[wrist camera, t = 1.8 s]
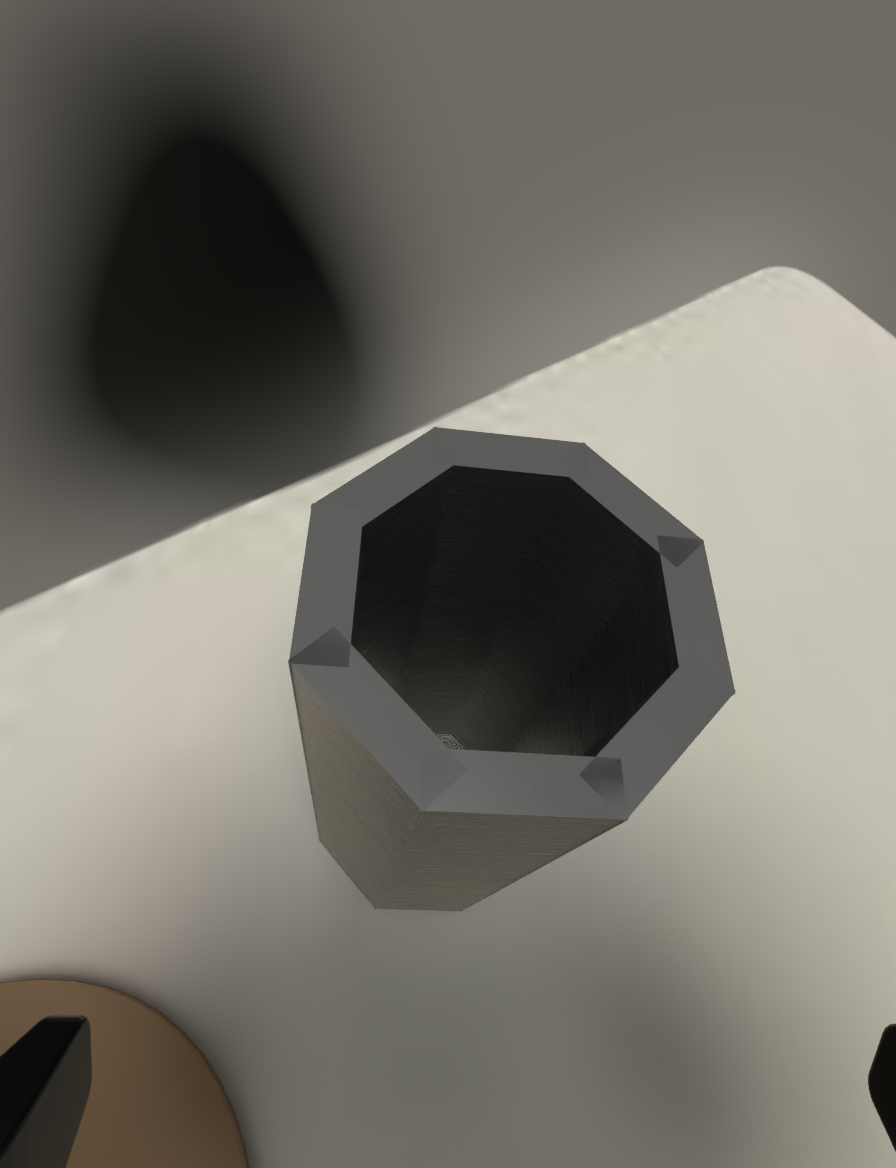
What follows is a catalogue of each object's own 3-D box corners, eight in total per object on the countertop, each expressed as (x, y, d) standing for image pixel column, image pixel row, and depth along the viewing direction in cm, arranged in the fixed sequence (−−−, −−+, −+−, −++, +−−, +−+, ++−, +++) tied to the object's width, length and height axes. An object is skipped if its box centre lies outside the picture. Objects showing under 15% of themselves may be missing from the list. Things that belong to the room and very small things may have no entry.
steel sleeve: (520, 913, 19) (764, 826, 8) (312, 907, 18) (267, 804, 7) (513, 715, 21) (685, 453, 11) (333, 704, 21) (323, 414, 10)
